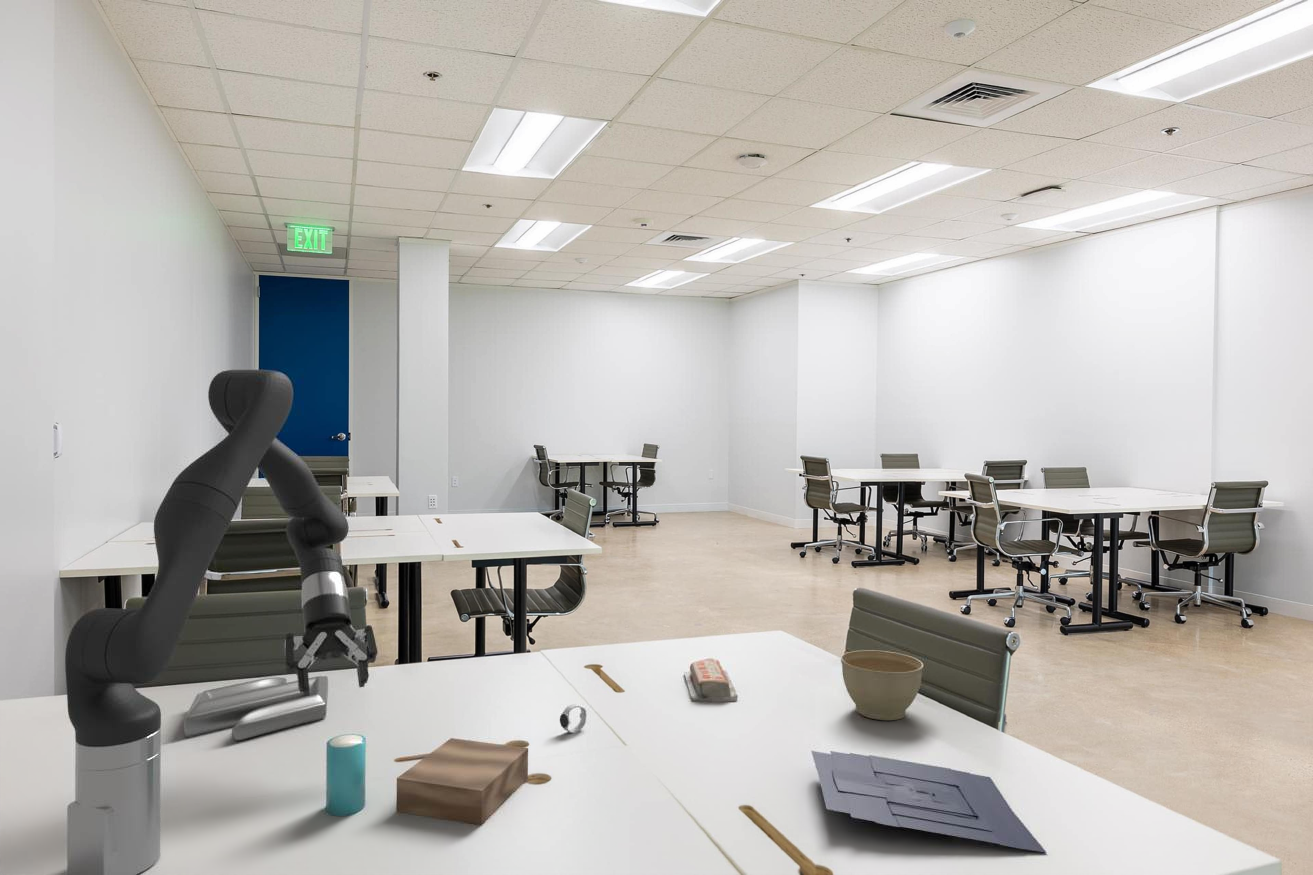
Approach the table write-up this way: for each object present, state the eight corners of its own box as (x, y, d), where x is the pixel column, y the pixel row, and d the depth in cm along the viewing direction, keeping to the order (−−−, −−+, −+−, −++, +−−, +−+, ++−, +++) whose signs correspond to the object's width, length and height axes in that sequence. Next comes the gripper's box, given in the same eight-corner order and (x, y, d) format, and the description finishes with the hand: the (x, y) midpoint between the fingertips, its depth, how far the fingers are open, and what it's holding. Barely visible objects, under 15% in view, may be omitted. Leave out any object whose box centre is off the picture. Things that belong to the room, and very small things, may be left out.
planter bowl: (939, 722, 160) (940, 667, 160) (872, 732, 154) (873, 675, 154) (888, 696, 175) (889, 646, 175) (824, 704, 169) (825, 653, 169)
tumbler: (350, 818, 118) (350, 750, 117) (317, 813, 119) (318, 745, 119) (372, 801, 123) (373, 736, 123) (341, 796, 124) (342, 732, 124)
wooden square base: (481, 825, 116) (482, 790, 116) (396, 811, 120) (396, 778, 120) (527, 778, 132) (528, 748, 132) (450, 767, 135) (451, 737, 135)
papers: (807, 761, 137) (810, 741, 137) (987, 792, 135) (990, 771, 135) (825, 834, 113) (829, 809, 113) (1044, 873, 111) (1048, 847, 110)
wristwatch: (558, 732, 151) (559, 706, 151) (579, 726, 155) (579, 700, 155) (568, 737, 149) (568, 710, 149) (589, 730, 153) (589, 704, 153)
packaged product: (738, 680, 170) (691, 681, 169) (738, 703, 170) (691, 703, 169) (726, 656, 188) (684, 656, 187) (726, 676, 188) (683, 676, 187)
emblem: (248, 663, 175) (364, 672, 169) (248, 687, 175) (364, 698, 169) (141, 707, 147) (276, 720, 142) (141, 736, 148) (276, 750, 142)
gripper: (282, 595, 135) (288, 683, 125) (371, 588, 142) (383, 670, 132) (279, 620, 139) (285, 707, 129) (365, 611, 146) (377, 693, 137)
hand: (335, 688), depth 131 cm, fingers open, 8 cm apart
